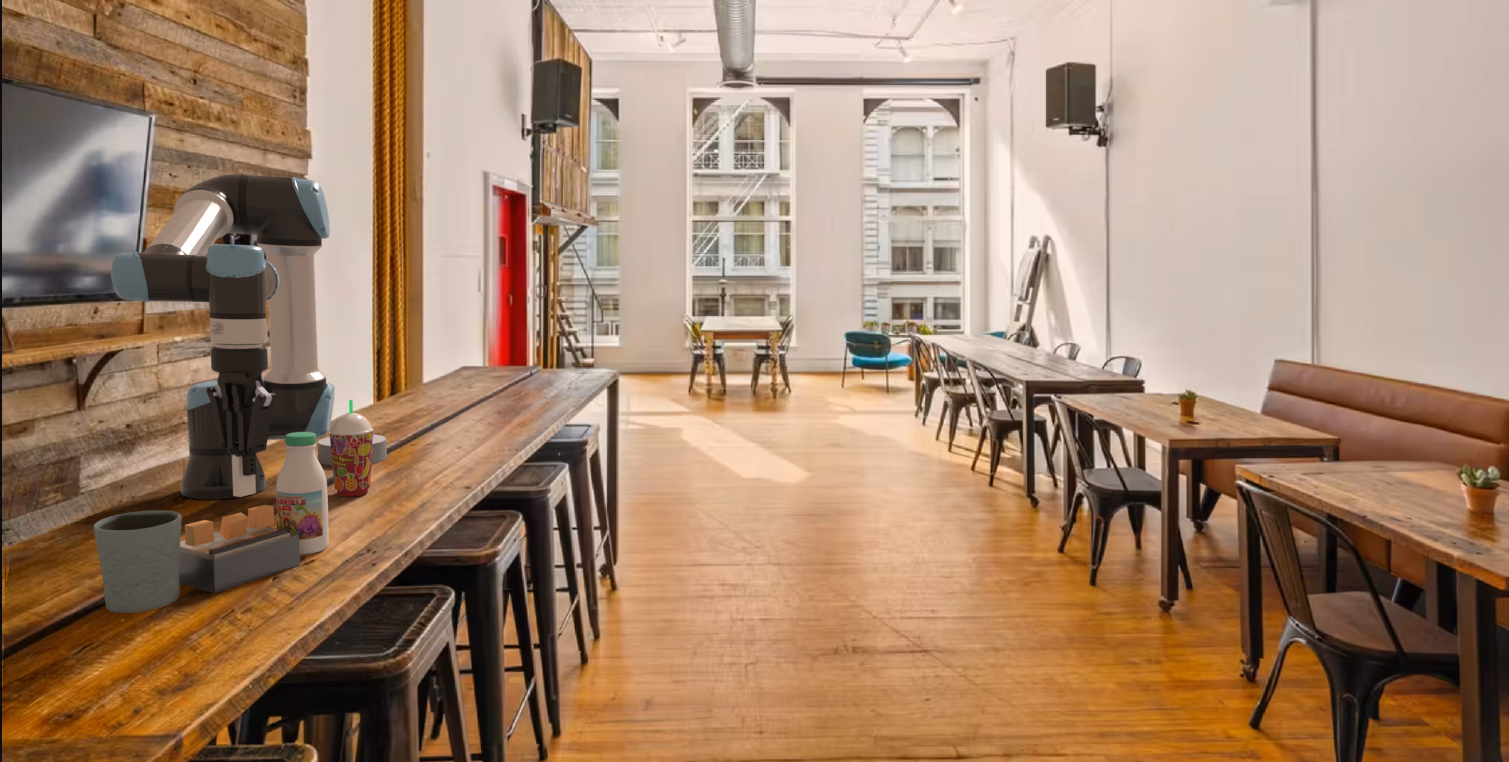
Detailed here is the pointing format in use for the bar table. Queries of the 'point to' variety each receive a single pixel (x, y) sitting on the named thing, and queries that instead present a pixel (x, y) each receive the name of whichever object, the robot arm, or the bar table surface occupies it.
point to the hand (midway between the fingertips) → (244, 494)
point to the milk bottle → (303, 494)
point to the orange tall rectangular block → (199, 533)
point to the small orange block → (234, 526)
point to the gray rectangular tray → (237, 559)
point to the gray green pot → (139, 559)
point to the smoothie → (351, 453)
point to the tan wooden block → (261, 516)
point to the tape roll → (377, 450)
